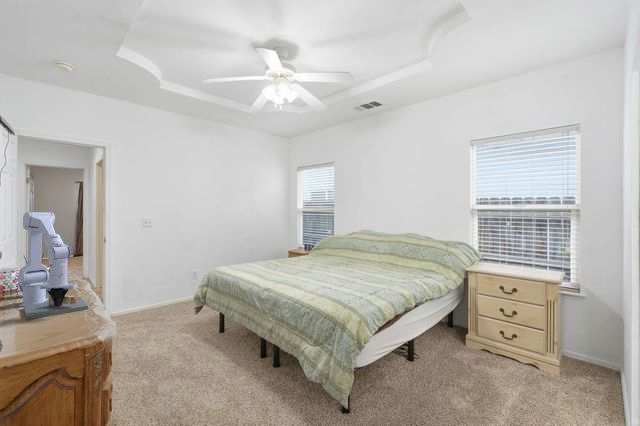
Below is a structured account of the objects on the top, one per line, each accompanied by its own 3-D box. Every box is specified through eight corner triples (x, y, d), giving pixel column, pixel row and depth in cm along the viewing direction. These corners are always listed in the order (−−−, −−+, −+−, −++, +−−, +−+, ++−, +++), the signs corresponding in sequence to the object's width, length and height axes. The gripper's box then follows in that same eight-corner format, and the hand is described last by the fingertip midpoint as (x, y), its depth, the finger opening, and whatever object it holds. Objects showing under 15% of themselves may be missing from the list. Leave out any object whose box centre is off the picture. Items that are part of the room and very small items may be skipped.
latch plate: (23, 308, 135) (23, 305, 135) (80, 299, 150) (80, 296, 150) (26, 320, 122) (26, 316, 122) (87, 309, 136) (87, 305, 136)
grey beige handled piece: (45, 306, 134) (45, 296, 134) (57, 302, 139) (57, 293, 139) (69, 308, 131) (69, 298, 131) (80, 305, 136) (80, 295, 136)
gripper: (82, 272, 134) (82, 303, 134) (49, 272, 134) (49, 302, 134) (69, 275, 127) (69, 308, 127) (35, 275, 127) (34, 307, 127)
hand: (58, 305), depth 130 cm, fingers closed
